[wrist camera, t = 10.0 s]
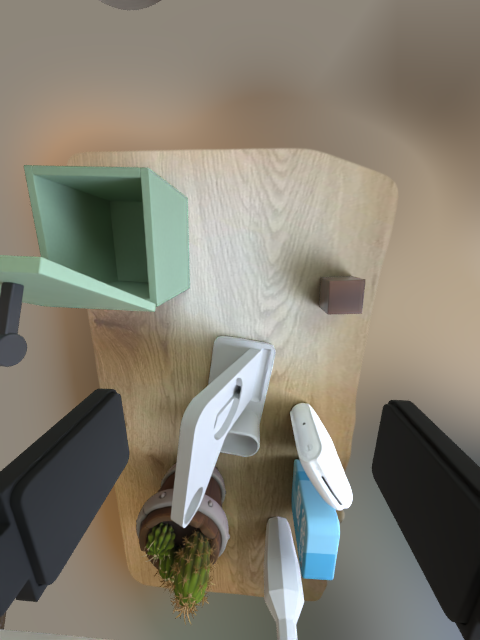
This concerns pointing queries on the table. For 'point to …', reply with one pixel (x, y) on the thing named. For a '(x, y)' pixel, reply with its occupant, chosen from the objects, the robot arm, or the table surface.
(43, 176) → the box
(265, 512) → the table surface
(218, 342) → the phone holder
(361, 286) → the block
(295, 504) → the data package
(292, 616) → the low poly bottle
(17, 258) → the green box lid
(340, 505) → the photo printer
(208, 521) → the flowerpot
